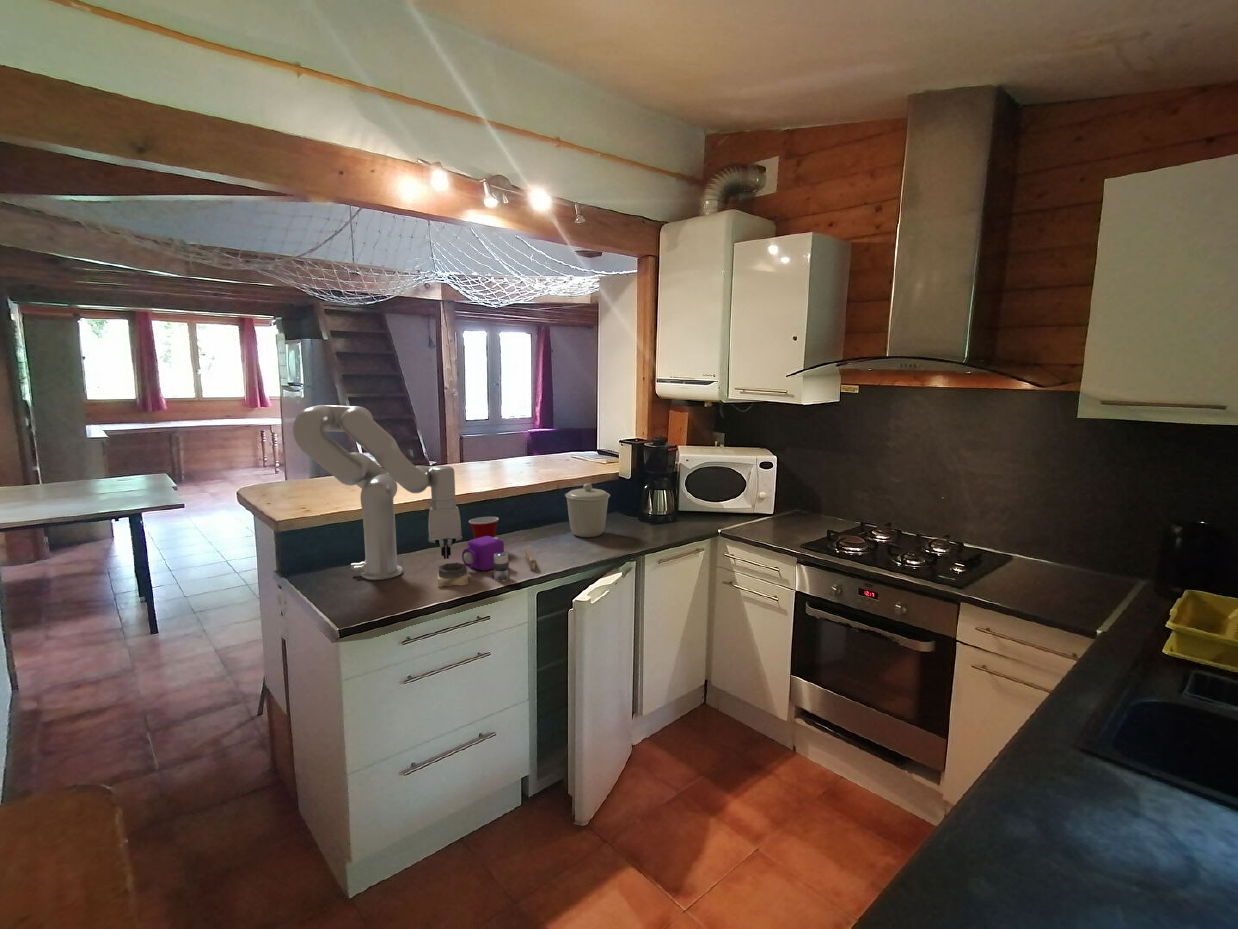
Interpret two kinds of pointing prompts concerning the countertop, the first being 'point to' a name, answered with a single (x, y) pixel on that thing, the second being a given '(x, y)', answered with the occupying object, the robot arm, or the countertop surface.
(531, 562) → the rail
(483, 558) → the toy camera
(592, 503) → the canister
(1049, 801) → the countertop surface
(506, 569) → the lens
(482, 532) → the plastic cup
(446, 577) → the mount
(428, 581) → the countertop surface
